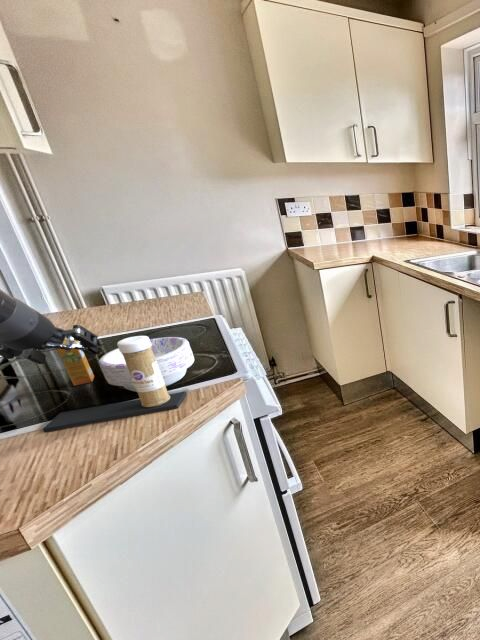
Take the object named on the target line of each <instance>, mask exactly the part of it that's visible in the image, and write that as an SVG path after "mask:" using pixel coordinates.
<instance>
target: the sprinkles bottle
mask: <svg viewBox="0 0 480 640" xmlns="http://www.w3.org/2000/svg"><path fill="white" fill-rule="evenodd" d="M116 345H117V347H118V348H119V351H120V352H121V353H122V355H123V356H124V360H125V362H126V365H127V367H128V370H129V372H130V375H131V379H132V381H133V384H134V386H135V389H136V391H137V392H136V391H135V392H136V393H137V396H138V398H139V399H140V400H141V405H142V406H143V407H155V406H159V405H162V404H164V403H166V402H167V401H168V400H169V399H170V395H169V394H170V393H169V392H168V389H167V386H165V382H164V380H163V377H162V374H161V372H160V369H159V366H158V364H157V361H156V359H155V357H154V354H153V351H152V349H151V348H152V347H151V342H150V337H149V336H147V335H136V336H129V337H126V338H122V339H121V340H118V341H117V343H116Z"/></svg>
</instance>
